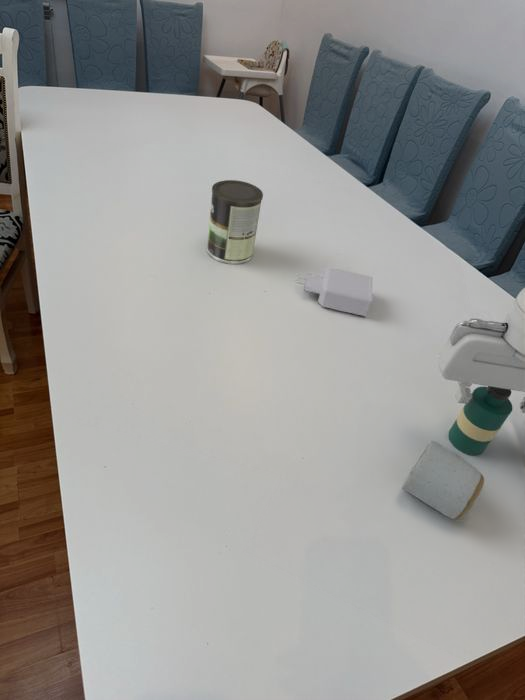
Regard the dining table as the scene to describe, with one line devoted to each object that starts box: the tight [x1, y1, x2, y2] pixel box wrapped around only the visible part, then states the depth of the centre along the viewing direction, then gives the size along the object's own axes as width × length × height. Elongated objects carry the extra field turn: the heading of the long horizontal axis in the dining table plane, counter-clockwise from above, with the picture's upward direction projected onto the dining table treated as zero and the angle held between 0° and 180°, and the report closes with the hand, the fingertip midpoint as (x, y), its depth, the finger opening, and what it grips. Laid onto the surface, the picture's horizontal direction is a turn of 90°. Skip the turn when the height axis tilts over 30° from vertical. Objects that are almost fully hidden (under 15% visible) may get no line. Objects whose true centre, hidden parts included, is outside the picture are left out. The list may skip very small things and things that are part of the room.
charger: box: [294, 267, 373, 317], centre depth 99 cm, size 5×9×15 cm
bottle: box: [447, 386, 513, 456], centre depth 73 cm, size 6×6×12 cm
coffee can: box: [206, 179, 264, 265], centre depth 104 cm, size 10×10×14 cm
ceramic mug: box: [401, 440, 485, 520], centre depth 66 cm, size 11×8×8 cm
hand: (493, 405), depth 71 cm, fingers open, 8 cm apart
